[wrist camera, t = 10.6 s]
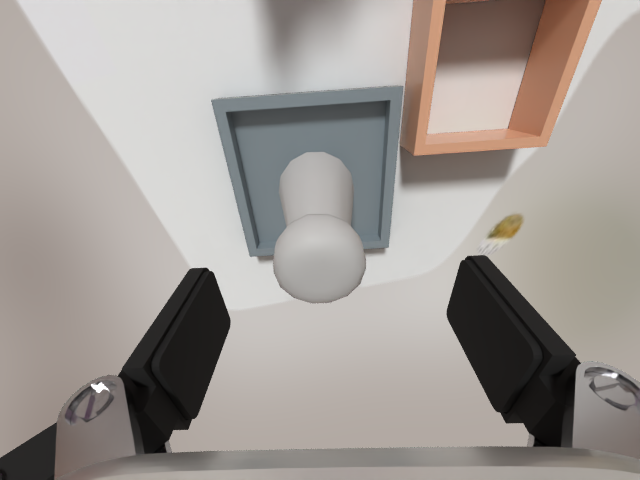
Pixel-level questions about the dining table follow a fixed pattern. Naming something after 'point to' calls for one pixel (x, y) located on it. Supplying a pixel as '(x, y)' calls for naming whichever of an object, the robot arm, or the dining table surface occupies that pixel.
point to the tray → (311, 136)
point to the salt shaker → (318, 231)
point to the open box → (535, 91)
